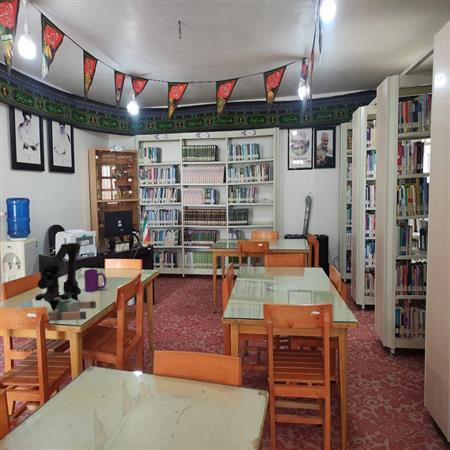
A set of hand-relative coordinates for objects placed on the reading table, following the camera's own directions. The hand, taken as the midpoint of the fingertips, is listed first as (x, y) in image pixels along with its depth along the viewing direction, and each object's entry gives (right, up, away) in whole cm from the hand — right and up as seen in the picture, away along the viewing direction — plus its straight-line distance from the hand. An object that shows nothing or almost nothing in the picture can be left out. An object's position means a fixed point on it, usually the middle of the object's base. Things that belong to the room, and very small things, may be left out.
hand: (54, 310), depth 208 cm
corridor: (+9, -2, +2) cm, 9 cm away
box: (+7, -2, +3) cm, 8 cm away
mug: (+6, +2, +51) cm, 52 cm away
